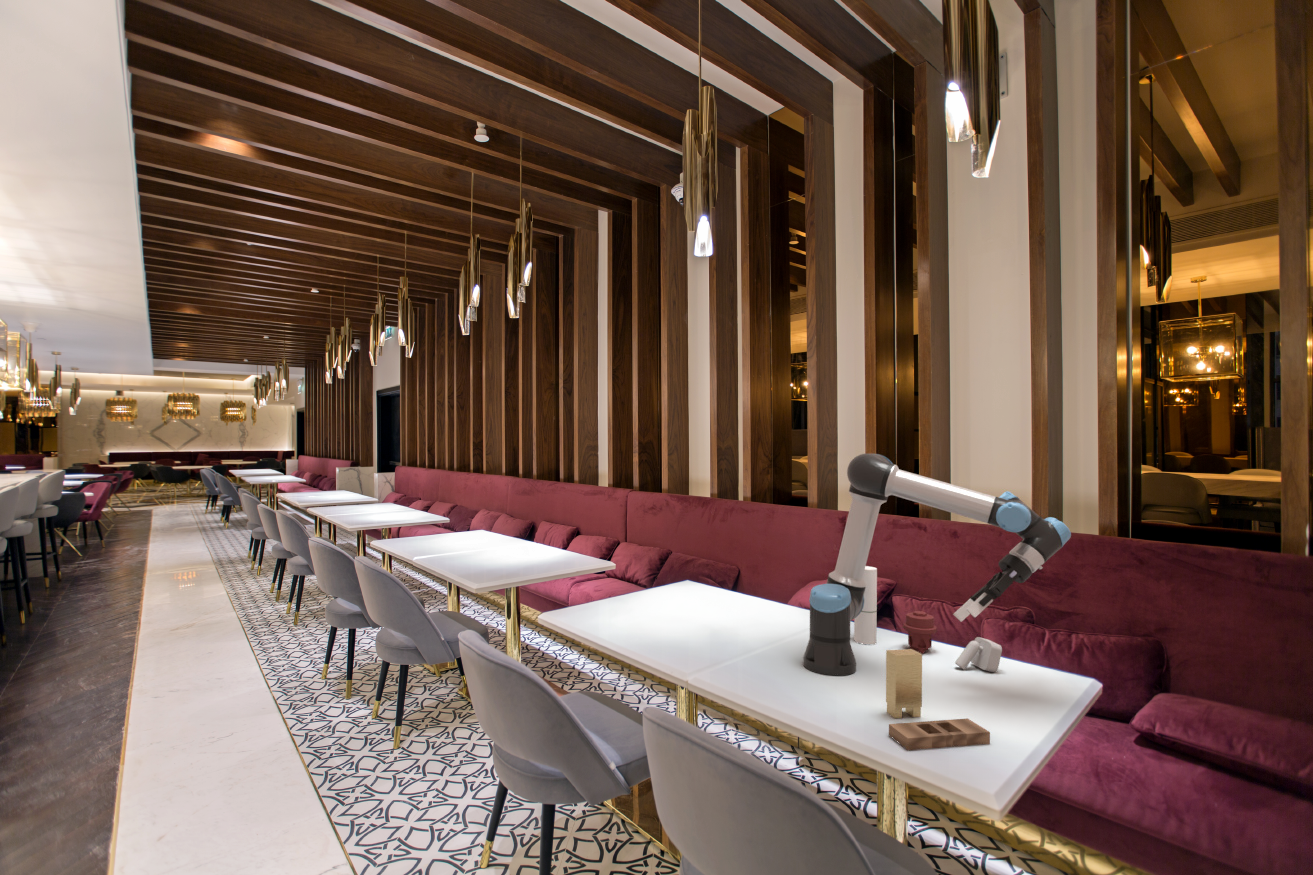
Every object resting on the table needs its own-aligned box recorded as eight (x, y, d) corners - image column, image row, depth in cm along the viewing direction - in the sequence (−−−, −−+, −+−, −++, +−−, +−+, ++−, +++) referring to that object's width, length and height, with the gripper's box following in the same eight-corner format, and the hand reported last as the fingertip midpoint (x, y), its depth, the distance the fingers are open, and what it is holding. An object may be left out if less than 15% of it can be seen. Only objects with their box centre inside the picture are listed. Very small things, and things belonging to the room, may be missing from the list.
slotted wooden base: (907, 750, 128) (907, 738, 128) (888, 735, 135) (888, 723, 135) (989, 743, 132) (989, 731, 132) (967, 729, 139) (967, 718, 139)
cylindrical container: (876, 639, 208) (876, 566, 209) (876, 645, 201) (877, 570, 202) (854, 637, 210) (855, 565, 211) (854, 643, 203) (854, 568, 204)
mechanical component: (932, 647, 201) (940, 656, 191) (900, 644, 203) (906, 653, 193) (932, 609, 201) (940, 617, 192) (900, 607, 203) (906, 615, 194)
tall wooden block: (895, 719, 143) (895, 655, 144) (885, 712, 147) (886, 650, 148) (921, 717, 145) (922, 654, 145) (911, 710, 149) (911, 648, 149)
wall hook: (947, 662, 184) (954, 630, 184) (978, 670, 184) (985, 638, 185) (962, 671, 176) (970, 638, 176) (995, 680, 176) (1003, 646, 177)
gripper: (1050, 566, 150) (989, 623, 148) (1016, 580, 173) (963, 630, 171) (1024, 543, 153) (964, 599, 151) (994, 560, 176) (941, 609, 174)
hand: (963, 615), depth 161 cm, fingers open, 13 cm apart
